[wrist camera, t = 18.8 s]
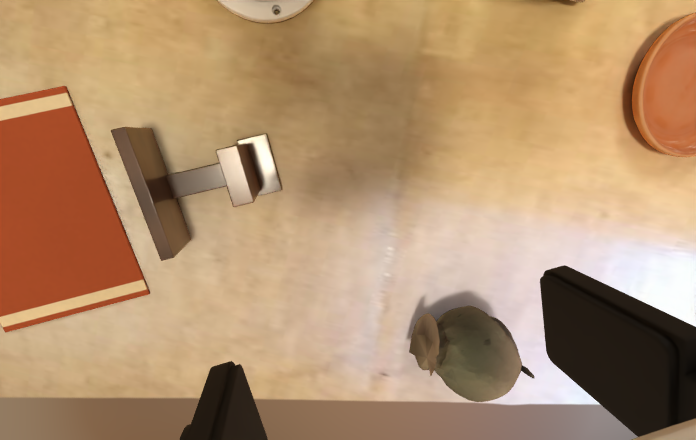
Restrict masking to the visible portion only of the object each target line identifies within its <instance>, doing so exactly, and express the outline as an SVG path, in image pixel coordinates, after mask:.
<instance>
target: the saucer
mask: <svg viewBox="0 0 696 440" xmlns="http://www.w3.org/2000/svg"><path fill="white" fill-rule="evenodd" d="M632 110H633V116H634V120H635V123H636V125H637V127H638V130H639V132H640V133H641V135H642V136H643V138H644V139H645V140H646V142H647V143H648V144H649V145H651V146H652V147H653V148H655V149H656V150H658V151H660V152H662V153H665V154H668V155H672V156H678V157H691V156H696V13H693V14H691V15H688V16H686V17H684V18H682V19H680V20H678V21H677V22H675V23H674V24H672V25H671V26H670V27H668V28H667V29H666V30H665V31H664V32H663V33H662V34H661V35H660V36H659V37H658V38H657V39H656V41H655V42H654V43H653V44H652V46H651V47H650V49H649V50H648V52H647V53H646V55H645V57H644V59H643V60H642V62H641V64H640V67H639V69H638V72H637V74H636V77H635V81H634V85H633V91H632Z"/></svg>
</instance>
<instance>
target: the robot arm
mask: <svg viewBox="0 0 696 440" xmlns="http://www.w3.org/2000/svg"><path fill="white" fill-rule="evenodd" d="M217 1H218V2H219V3H220V4H221V5H222V6H223V7H225V8H226V9H228V10H229V11H230V12H232V13H233V14H236V15H238V16H240V17H242V18H244V19H247V20H251V21H254V22H261V23H273V22H280V21H284V20H287V19H289V18H292V17H294V16H296V15H297V14H299V13H300V12H302V11H303V10H305V9H306V8H307V7H308V6H309V5H310V4H311V3H312V2H313V0H217ZM276 10H278V11H279V12H280V13H279V14H278V15H276V14H275V13H274V12H275V11H276ZM540 286H541V297H542V308H543V319H544V330H545V341H546V351H547V354H548V356H549V358H550V360H551V361H552V362H553V363H554V364H555V365H556V366H557V367H558V368H559V369H561V370H562V371H563V372H564V373H565V374H566V375H567V376H569V377H570V378H571V379H572V380H573V381H574V382H576V383H577V384H578V385H579V386H580V387H581V388H582V389H584V390H585V391H586V392H587V393H588V394H589V395H591V396H592V397H593V398H594V399H595V400H596V401H597V402H599V403H600V404H601V405H602V406H603V407H604V408H605V409H607V410H608V411H609V412H610V413H611V414H612V415H614V416H615V417H616V418H617V419H618V420H619V421H621V422H622V423H623V424H624V425H625V426H626V427H628V428H629V429H630V430H631V431H632V432H633V433H634V434H635V435H637V436H638V437H637V438H635V439H632V440H696V327H695V326H692V325H690V324H688V323H686V322H684V321H682V320H680V319H678V318H676V317H673V316H671V315H669V314H667V313H665V312H663V311H661V310H659V309H656V308H654V307H652V306H650V305H648V304H646V303H644V302H642V301H640V300H637V299H635V298H633V297H631V296H629V295H627V294H625V293H623V292H621V291H618V290H616V289H614V288H612V287H610V286H608V285H606V284H604V283H602V282H599V281H597V280H595V279H593V278H591V277H589V276H587V275H585V274H582V273H580V272H578V271H576V270H574V269H572V268H570V267H568V266H560V267H557V268H553V269H550V270H546V271H545V272H544V276H543V277H541V279H540ZM180 440H268V439H267V436H266V433H265V430H264V427H263V424H262V421H261V419H260V416H259V413H258V410H257V407H256V404H255V402H254V399H253V396H252V393H251V390H250V387H249V385H248V382H247V379H246V376H245V373H244V371H243V368H242V366H241V365H240V364H239V365H236V366H235V364H234V363H233V362H232V361H231V362H227V363H224V364H220V365H217V366H213V367H211V369H210V372H209V374H208V377H207V380H206V383H205V386H204V389H203V392H202V394H201V397H200V400H199V403H198V406H197V409H196V411H195V414H194V417H193V420H192V423H191V424H190V425H187V426H186V427H185V428H184V430H183V432H182V435H181V437H180Z"/></svg>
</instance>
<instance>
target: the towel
mask: <svg viewBox="0 0 696 440" xmlns="http://www.w3.org/2000/svg"><path fill="white" fill-rule="evenodd" d="M148 294H150V292H149V289H148V287H147V284H146V282H145V279H144V277H143V275H142V272H141V270H140V267H139V265H138V262H137V260H136V257H135V255H134V252H133V250H132V247H131V245H130V243H129V240H128V238H127V235H126V233H125V230H124V228H123V225H122V223H121V220H120V218H119V216H118V213H117V211H116V208H115V206H114V203H113V201H112V198H111V196H110V193H109V191H108V189H107V186H106V184H105V181H104V179H103V176H102V174H101V171H100V169H99V166H98V164H97V162H96V159H95V157H94V154H93V152H92V149H91V147H90V144H89V142H88V139H87V137H86V135H85V132H84V130H83V127H82V125H81V122H80V120H79V117H78V115H77V112H76V110H75V108H74V105H73V103H72V100H71V98H70V95H69V93H68V90H67V88H66V86H62V87H57V88H52V89H48V90H43V91H38V92H33V93H28V94H23V95H19V96H14V97H9V98H4V99H0V324H1V326H2V327H3V329H4V331H5V332H8V331H12V330H16V329H19V328H23V327H27V326H31V325H35V324H38V323H42V322H46V321H50V320H53V319H57V318H61V317H65V316H69V315H72V314H76V313H80V312H84V311H87V310H91V309H95V308H99V307H103V306H106V305H110V304H114V303H118V302H121V301H125V300H129V299H133V298H136V297H140V296H144V295H148Z"/></svg>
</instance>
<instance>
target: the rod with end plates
mask: <svg viewBox="0 0 696 440" xmlns="http://www.w3.org/2000/svg"><path fill="white" fill-rule="evenodd" d="M111 132H112V135H113V138H114V140H115V143H116V145H117V148H118V151H119V153H120V156H121V158H122V161H123V163H124V166H125V169H126V171H127V174H128V176H129V179H130V181H131V184H132V187H133V189H134V192H135V194H136V197H137V199H138V202H139V205H140V207H141V210H142V212H143V215H144V218H145V220H146V223H147V225H148V228H149V230H150V233H151V236H152V238H153V241H154V243H155V246H156V248H157V251H158V254H159V256H160V259H161V261H162V260H166V259H170V258H174V257H175V256H176V255H177V254H178V253H179V252H180V251H181V250H182V249H183V248H184V247H185V245H186V244H187V243H188V242H189V241H190V240H191V237H190V234H189V231H188V229H187V226H186V223H185V220H184V217H183V215H182V212H181V209H180V206H179V203H178V201H177V198H179V197H183V196H187V195H191V194H195V193H200V192H204V191H208V190H212V189H216V188H220V187H224V186H227V188H228V191H229V194H230V198H231V201H232V204H233V207H237V206H241V205H245V204H249V203H253V202H254V201H255V199H256V197H257V196H260V195H264V194H268V193H272V192H276V191H280V190H282V188H281V184H280V180H279V177H278V173H277V170H276V166H275V162H274V159H273V155H272V152H271V148H270V144H269V141H268V137H267V134H263V135H259V136H254V137H250V138H246V139H241V140H237V142H238V145H235V146H230V147H226V148H222V149H217V150H216V154H217V157H218V160H219V163H218V164H213V165H209V166H205V167H201V168H196V169H192V170H188V171H184V172H180V173H175V174H171V175H168V173H167V170H166V167H165V164H164V162H163V159H162V156H161V153H160V150H159V148H158V145H157V142H156V139H155V136H154V134H153V131H152V129H151V128H133V127H122V128H117V129H113V130H111Z"/></svg>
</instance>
